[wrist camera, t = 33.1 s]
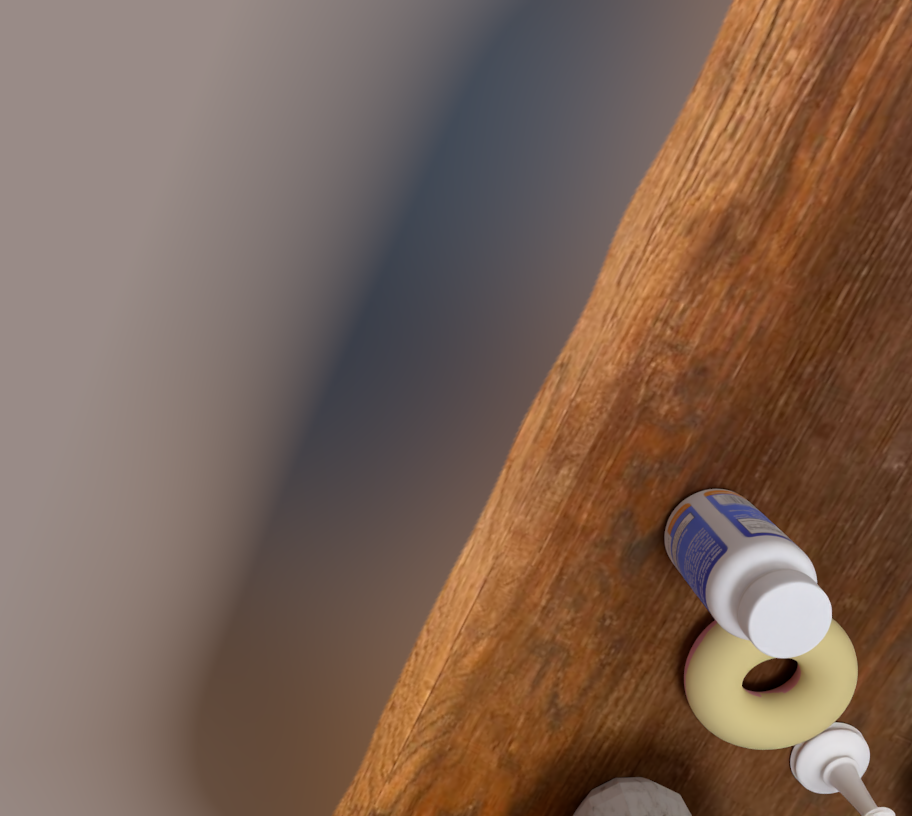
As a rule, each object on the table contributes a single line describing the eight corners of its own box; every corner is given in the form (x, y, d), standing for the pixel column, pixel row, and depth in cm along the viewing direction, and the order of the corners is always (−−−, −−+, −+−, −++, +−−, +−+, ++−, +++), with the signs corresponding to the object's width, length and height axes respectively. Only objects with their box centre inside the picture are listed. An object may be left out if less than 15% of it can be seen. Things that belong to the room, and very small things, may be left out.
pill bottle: (685, 589, 48) (760, 694, 39) (645, 516, 47) (713, 608, 37) (770, 542, 48) (865, 638, 39) (732, 467, 46) (822, 548, 37)
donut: (692, 570, 50) (660, 714, 52) (712, 597, 46) (677, 755, 47) (857, 599, 50) (821, 744, 52) (894, 630, 46) (854, 787, 47)
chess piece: (796, 796, 54) (887, 936, 44) (783, 735, 52) (875, 867, 43) (869, 773, 54) (976, 908, 44) (859, 712, 52) (968, 838, 43)
